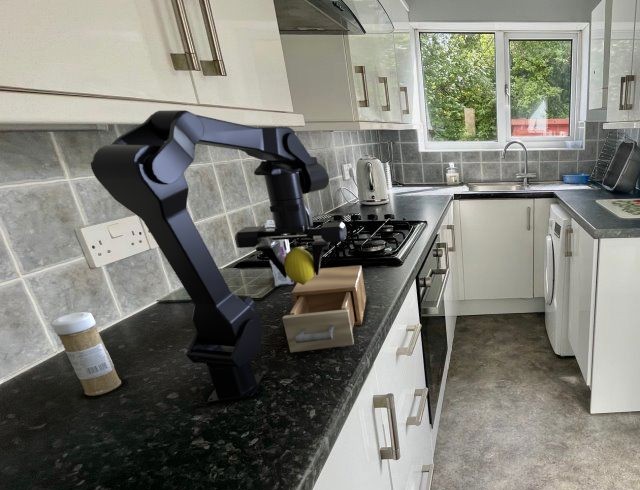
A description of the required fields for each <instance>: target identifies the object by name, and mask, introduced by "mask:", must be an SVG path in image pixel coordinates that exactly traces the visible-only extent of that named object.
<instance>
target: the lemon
mask: <svg viewBox="0 0 640 490" xmlns="http://www.w3.org/2000/svg"><path fill="white" fill-rule="evenodd" d="M284 268H285V272H286V274H287V276H288V277H289V278H290V279H291V280H292V281H294V283H296V284H297V283H300V284H302V285H305V284H306V283H307V282H308V281H309V280H311V279H312V278H313V276H314V274H315V270H314V261H313V254H311V253H310V252H309V251H308V250H306V249H304V248H300V247H298V246H295V247H294V248H293V249H290V251H289V252H288V253H287V255H286V257H285V260H284Z"/></svg>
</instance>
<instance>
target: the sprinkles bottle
mask: <svg viewBox="0 0 640 490" xmlns="http://www.w3.org/2000/svg"><path fill="white" fill-rule="evenodd" d="M50 325H51V328H52V330H53V331H54V334H55V335H57V337H58V338H59V340H60V342H61V344H62V346H63V348H64V352H65V353H66V356H67V357H68V360H69V362H70V364H71V365H72V368H73V370H74V372H75V374H76V376H77V379H79V381H80V383H81V386H82V388H83V390H84V394H85V395H86V396H88V397H90V396H91V397H92V396H95V397H96V396H100V395H105V394H108V393H109V392H112V391H114V390H116V389H117V388H118V387H120V386H121V384H122V380H121V379H120V378H119V376H118V373H117V370H116V369H115V365H114V363H113V361H112V359H111V356H110V354H109V352H108V349H107V348H106V346H105V343H104V342H103V339H102V336H101V335H100V333H99V331H98V329H97V324H96V320H95V318H94V316H93V314H92V313H91V312H89V311H81V312H80V311H79V312H73V313H69V314H64V315H62V316H60V317H57V318H55V319H54V320H53V321H52V322H51V323H50Z"/></svg>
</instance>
